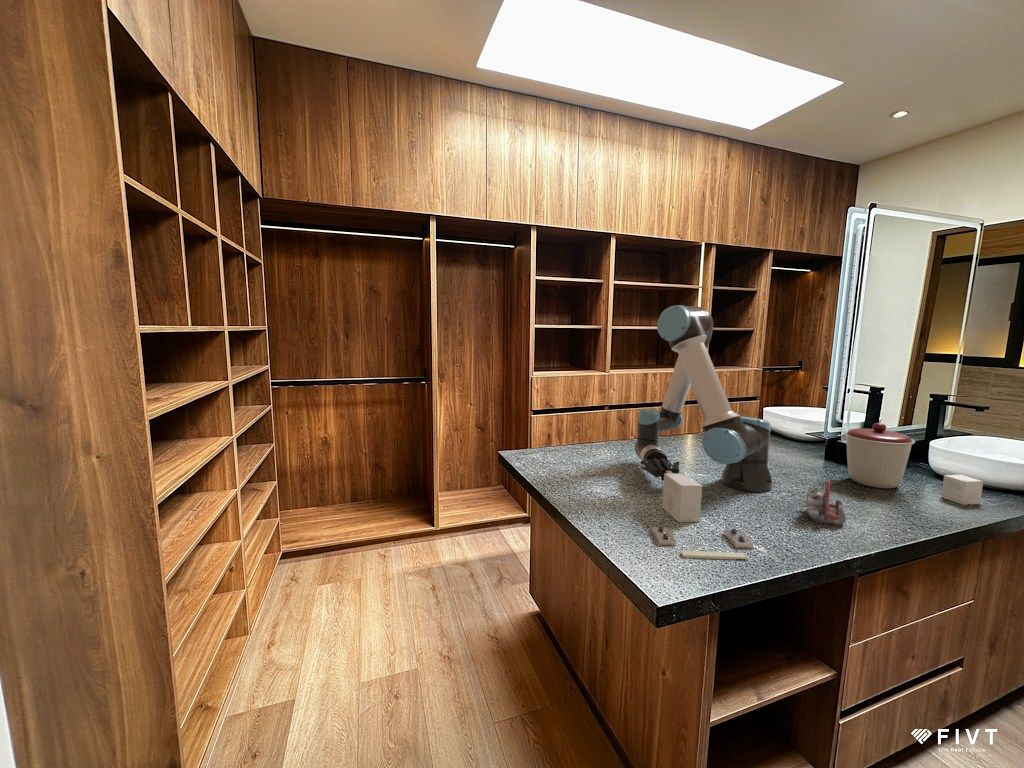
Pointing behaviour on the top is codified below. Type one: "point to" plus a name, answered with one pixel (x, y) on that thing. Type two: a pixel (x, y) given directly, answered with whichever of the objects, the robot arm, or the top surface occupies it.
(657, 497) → the top surface
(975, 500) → the skincare box
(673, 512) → the skincare box
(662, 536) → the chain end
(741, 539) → the block
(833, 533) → the top surface
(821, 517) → the grey red lumpy piece
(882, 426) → the canister
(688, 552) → the cream long thin bar
